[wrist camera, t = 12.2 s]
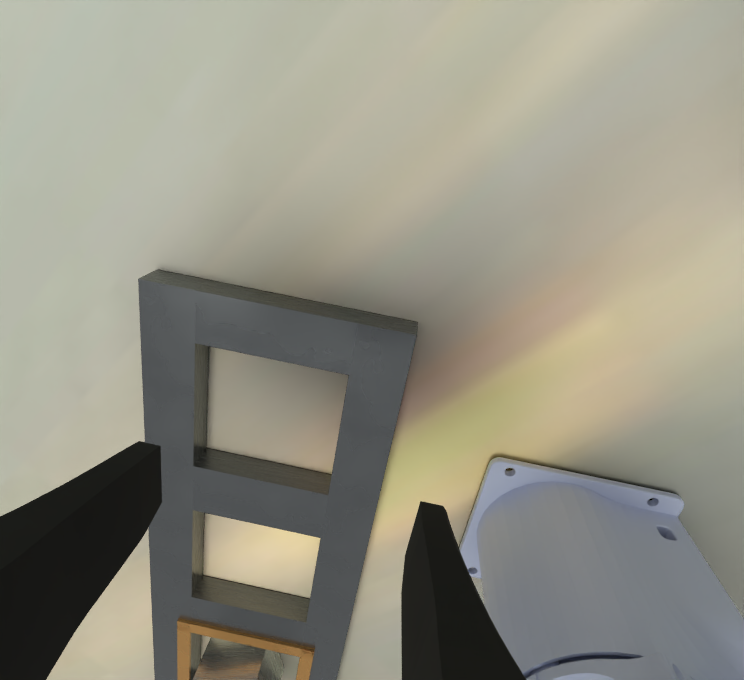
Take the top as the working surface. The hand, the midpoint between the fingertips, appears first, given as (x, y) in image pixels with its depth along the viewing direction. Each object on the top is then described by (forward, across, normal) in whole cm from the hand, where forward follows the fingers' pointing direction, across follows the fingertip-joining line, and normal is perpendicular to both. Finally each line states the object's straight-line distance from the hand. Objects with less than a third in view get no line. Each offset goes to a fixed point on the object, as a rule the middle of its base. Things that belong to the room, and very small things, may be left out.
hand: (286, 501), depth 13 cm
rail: (+10, +3, +14) cm, 17 cm away
